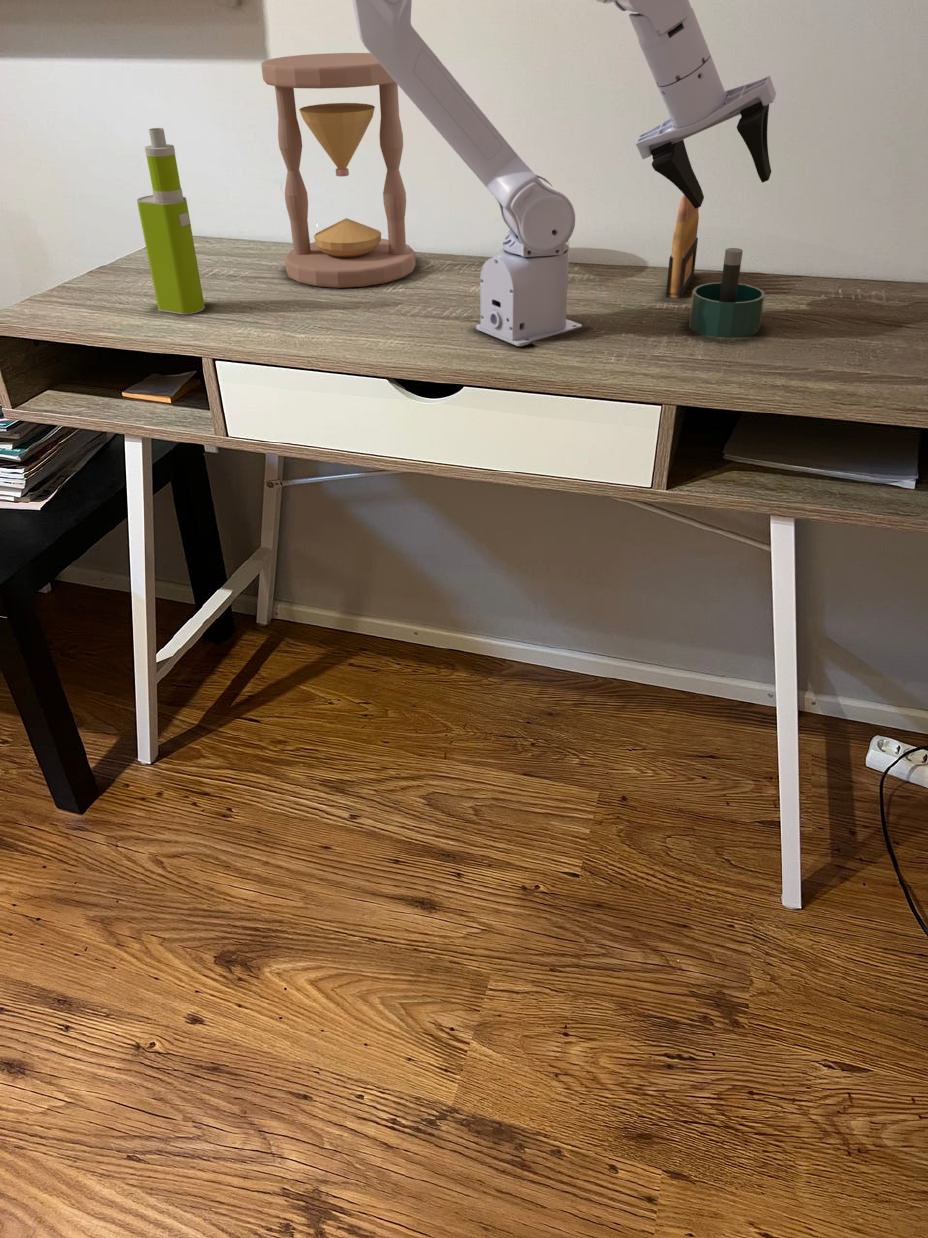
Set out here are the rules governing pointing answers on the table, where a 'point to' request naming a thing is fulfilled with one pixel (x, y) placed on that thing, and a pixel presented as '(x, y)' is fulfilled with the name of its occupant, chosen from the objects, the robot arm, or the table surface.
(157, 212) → the vape
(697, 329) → the pen cup
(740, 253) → the marker
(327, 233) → the hourglass
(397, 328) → the table surface
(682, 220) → the ammunition clip
